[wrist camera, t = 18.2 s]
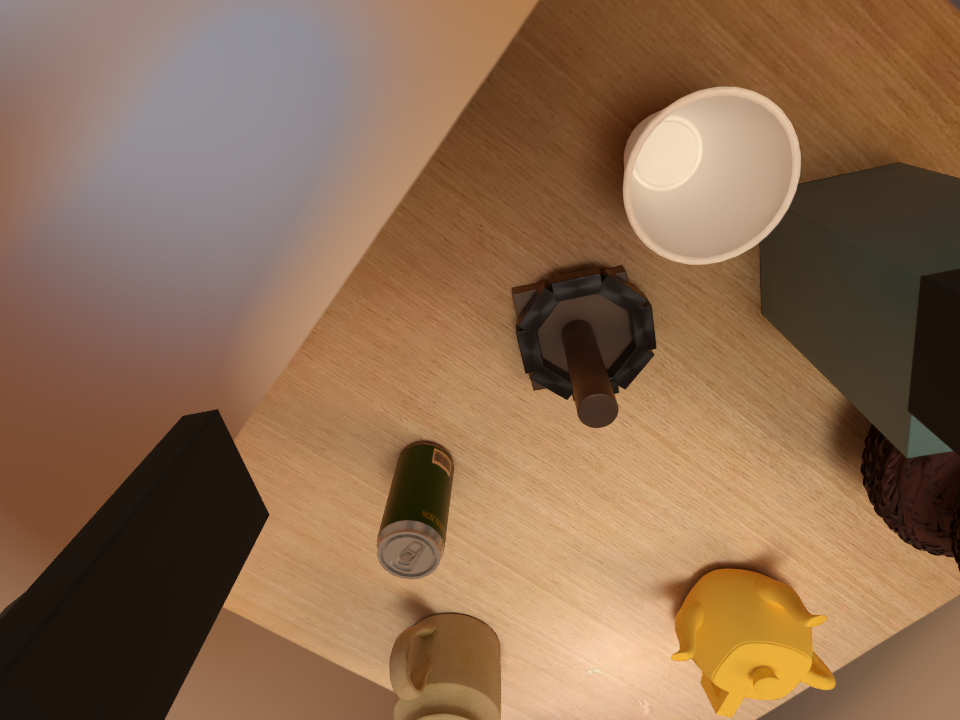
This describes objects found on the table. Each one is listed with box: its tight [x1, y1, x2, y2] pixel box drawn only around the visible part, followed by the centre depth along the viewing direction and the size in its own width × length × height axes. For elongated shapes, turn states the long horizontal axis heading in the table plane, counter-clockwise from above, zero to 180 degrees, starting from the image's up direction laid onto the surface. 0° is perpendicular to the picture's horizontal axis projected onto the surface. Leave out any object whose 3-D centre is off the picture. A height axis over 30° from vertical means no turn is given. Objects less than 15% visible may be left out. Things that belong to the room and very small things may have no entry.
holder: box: [512, 266, 632, 428], centre depth 45 cm, size 9×9×14 cm
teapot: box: [671, 569, 836, 718], centre depth 60 cm, size 14×13×10 cm
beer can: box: [377, 442, 454, 579], centre depth 52 cm, size 5×5×12 cm
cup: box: [623, 87, 801, 265], centre depth 39 cm, size 10×10×11 cm
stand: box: [760, 163, 960, 458], centre depth 38 cm, size 10×10×20 cm
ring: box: [516, 267, 656, 401], centre depth 48 cm, size 11×11×2 cm
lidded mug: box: [390, 614, 501, 720], centre depth 62 cm, size 15×11×15 cm
